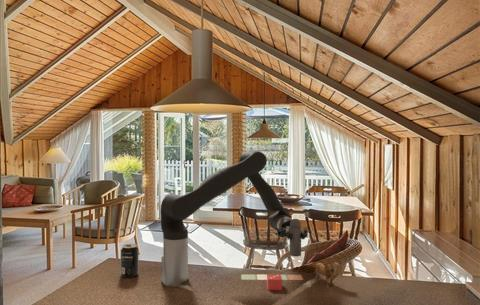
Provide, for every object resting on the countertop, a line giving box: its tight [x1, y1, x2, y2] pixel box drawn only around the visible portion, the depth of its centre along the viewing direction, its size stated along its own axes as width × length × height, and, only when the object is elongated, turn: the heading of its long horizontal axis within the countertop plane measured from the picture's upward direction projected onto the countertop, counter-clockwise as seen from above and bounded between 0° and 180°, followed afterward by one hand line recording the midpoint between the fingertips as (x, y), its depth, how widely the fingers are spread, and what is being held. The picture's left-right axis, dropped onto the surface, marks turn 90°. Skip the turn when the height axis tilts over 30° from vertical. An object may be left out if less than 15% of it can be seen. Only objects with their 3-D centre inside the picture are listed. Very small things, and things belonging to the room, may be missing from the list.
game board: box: [240, 274, 312, 288], centre depth 141 cm, size 28×12×1 cm, turn 90°
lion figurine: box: [313, 262, 343, 288], centre depth 139 cm, size 15×5×9 cm, turn 35°
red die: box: [266, 274, 283, 291], centre depth 131 cm, size 5×5×5 cm
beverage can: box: [120, 243, 139, 278], centre depth 145 cm, size 7×7×12 cm
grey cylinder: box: [289, 218, 302, 257], centre depth 140 cm, size 4×4×14 cm
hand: (297, 236), depth 138 cm, fingers closed on grey cylinder, 4 cm apart
